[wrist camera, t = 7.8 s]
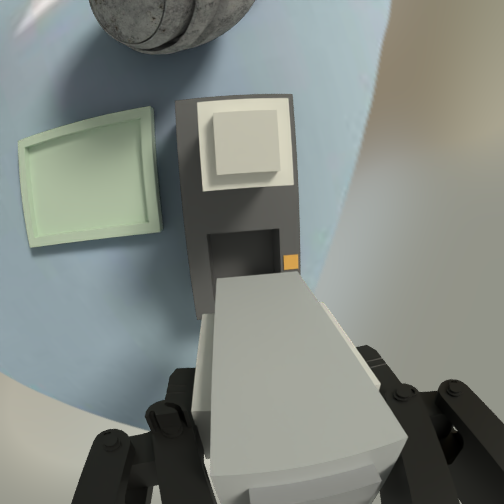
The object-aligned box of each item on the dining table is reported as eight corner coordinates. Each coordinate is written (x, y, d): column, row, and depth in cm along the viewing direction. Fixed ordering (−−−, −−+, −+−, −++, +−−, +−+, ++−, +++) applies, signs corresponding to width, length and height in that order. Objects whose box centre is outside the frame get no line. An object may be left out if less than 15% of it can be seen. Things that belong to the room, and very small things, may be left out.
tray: (36, 244, 27) (30, 247, 26) (25, 141, 24) (18, 140, 22) (163, 229, 28) (160, 232, 27) (153, 108, 25) (150, 105, 24)
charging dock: (201, 292, 31) (188, 385, 17) (184, 114, 26) (149, 64, 12) (286, 284, 31) (332, 369, 17) (278, 108, 26) (330, 57, 12)
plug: (224, 346, 18) (234, 547, 5) (216, 278, 16) (210, 498, 4) (297, 338, 18) (373, 521, 6) (297, 271, 17) (418, 454, 5)
